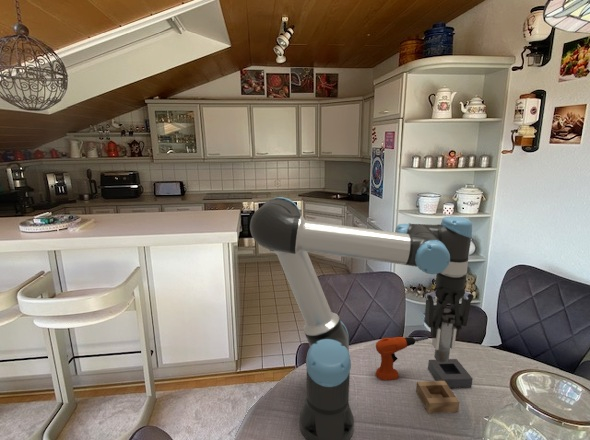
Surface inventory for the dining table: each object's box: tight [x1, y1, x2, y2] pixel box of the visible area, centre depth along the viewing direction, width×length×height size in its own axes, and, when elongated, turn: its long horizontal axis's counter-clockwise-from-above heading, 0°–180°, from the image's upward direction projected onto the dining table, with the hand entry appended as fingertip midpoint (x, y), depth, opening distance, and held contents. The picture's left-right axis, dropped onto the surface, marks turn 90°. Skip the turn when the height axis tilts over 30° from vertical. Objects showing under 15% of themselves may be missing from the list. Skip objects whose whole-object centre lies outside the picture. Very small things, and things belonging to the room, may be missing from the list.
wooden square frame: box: [415, 380, 460, 414], centre depth 104 cm, size 9×9×4 cm
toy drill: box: [375, 336, 429, 381], centre depth 114 cm, size 5×19×15 cm, turn 97°
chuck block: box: [427, 358, 474, 390], centre depth 114 cm, size 10×10×4 cm
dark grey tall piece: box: [433, 307, 456, 362], centre depth 99 cm, size 7×5×15 cm, turn 3°
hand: (442, 346), depth 100 cm, fingers closed on dark grey tall piece, 4 cm apart
